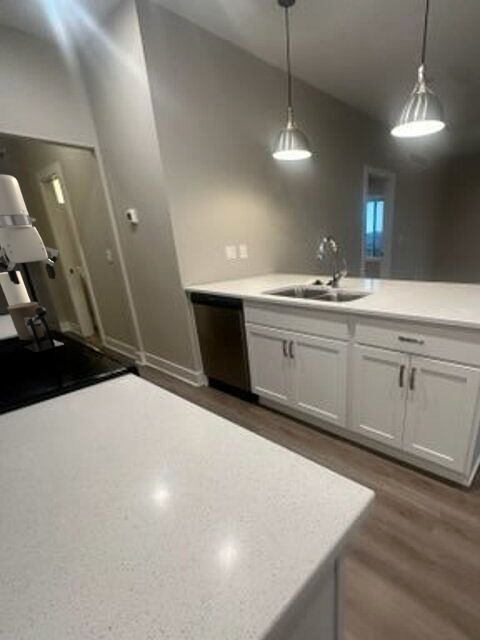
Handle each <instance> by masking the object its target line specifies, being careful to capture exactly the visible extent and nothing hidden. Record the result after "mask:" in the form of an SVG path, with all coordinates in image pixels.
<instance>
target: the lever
mask: <svg viewBox="0 0 480 640" xmlns="http://www.w3.org/2000/svg"><path fill="white" fill-rule="evenodd" d="M47 313H48V312H47V308H46V307H44V306H39V307H37V308H36V309H35V314H36V317H34V318H31V319H32V322H33V324H34V327H35V326H40V325H41V323H42V322H41V320H40V318H41V316H46V315H47Z"/></svg>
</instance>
